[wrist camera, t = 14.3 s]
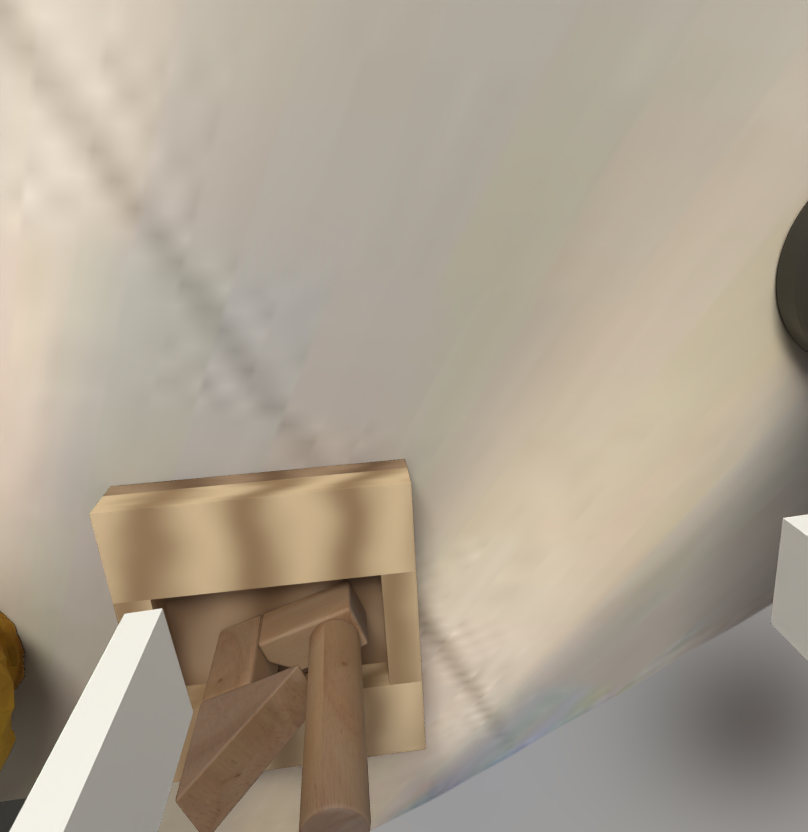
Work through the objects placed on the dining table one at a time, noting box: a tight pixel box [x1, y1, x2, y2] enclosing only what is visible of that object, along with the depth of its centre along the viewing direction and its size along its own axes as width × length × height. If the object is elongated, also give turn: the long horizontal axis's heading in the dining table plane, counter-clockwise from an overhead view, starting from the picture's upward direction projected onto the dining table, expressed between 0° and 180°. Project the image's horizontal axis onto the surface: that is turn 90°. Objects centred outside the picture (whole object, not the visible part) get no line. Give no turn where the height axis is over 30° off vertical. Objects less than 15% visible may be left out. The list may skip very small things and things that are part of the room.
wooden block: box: [176, 581, 371, 832], centre depth 39 cm, size 4×11×18 cm, turn 111°
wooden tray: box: [90, 459, 426, 782], centre depth 47 cm, size 21×24×4 cm
